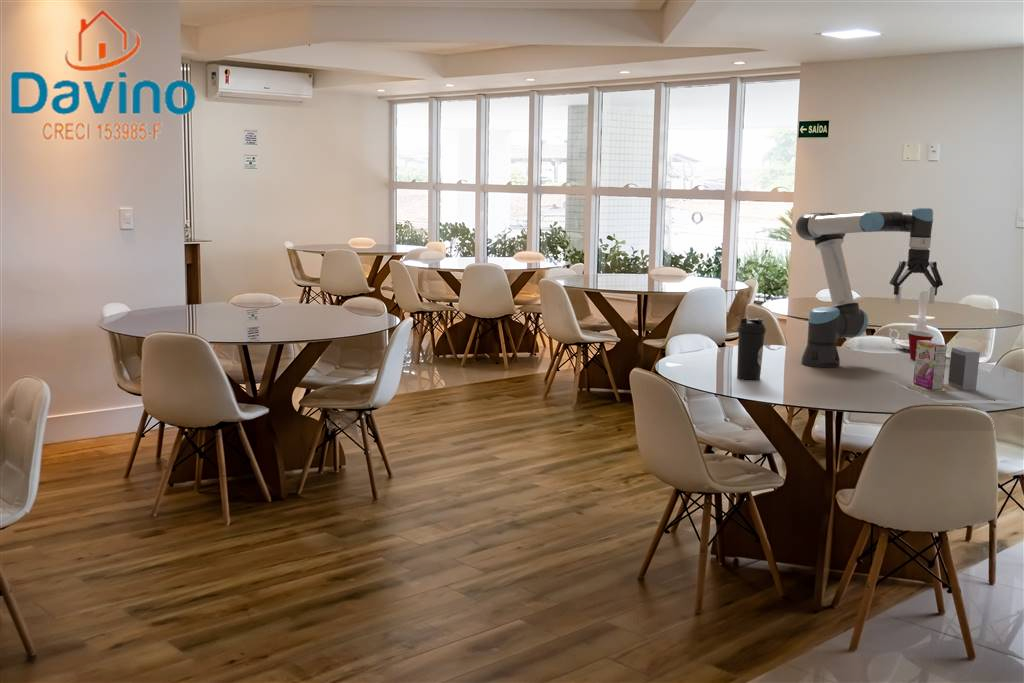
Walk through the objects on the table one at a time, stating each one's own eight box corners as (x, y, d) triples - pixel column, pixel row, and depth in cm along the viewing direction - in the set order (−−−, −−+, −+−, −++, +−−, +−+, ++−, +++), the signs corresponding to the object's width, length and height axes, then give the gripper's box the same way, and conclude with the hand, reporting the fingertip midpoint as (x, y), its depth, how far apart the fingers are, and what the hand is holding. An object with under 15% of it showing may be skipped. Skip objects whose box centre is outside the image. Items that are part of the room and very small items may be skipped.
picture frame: (923, 393, 356) (923, 390, 356) (906, 386, 369) (906, 383, 369) (979, 394, 358) (979, 390, 358) (959, 386, 371) (960, 383, 371)
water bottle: (760, 382, 370) (764, 320, 366) (732, 379, 373) (736, 319, 369) (763, 377, 379) (767, 317, 375) (736, 375, 382) (740, 315, 379)
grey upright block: (961, 390, 359) (965, 352, 357) (947, 384, 369) (950, 347, 367) (975, 390, 360) (979, 352, 357) (961, 384, 369) (964, 347, 367)
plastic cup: (929, 363, 421) (932, 335, 419) (902, 360, 426) (905, 332, 424) (933, 359, 430) (936, 332, 428) (906, 356, 435) (909, 329, 433)
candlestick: (894, 344, 469) (900, 285, 465) (949, 351, 453) (955, 290, 449) (878, 349, 454) (883, 288, 449) (934, 356, 438) (940, 293, 433)
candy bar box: (912, 383, 368) (916, 340, 365) (923, 383, 369) (927, 339, 366) (931, 390, 357) (935, 345, 354) (943, 389, 358) (947, 344, 356)
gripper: (892, 248, 375) (887, 304, 379) (955, 249, 378) (950, 305, 381) (883, 247, 383) (878, 302, 386) (945, 248, 385) (940, 302, 388)
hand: (914, 303), depth 384 cm, fingers open, 13 cm apart
